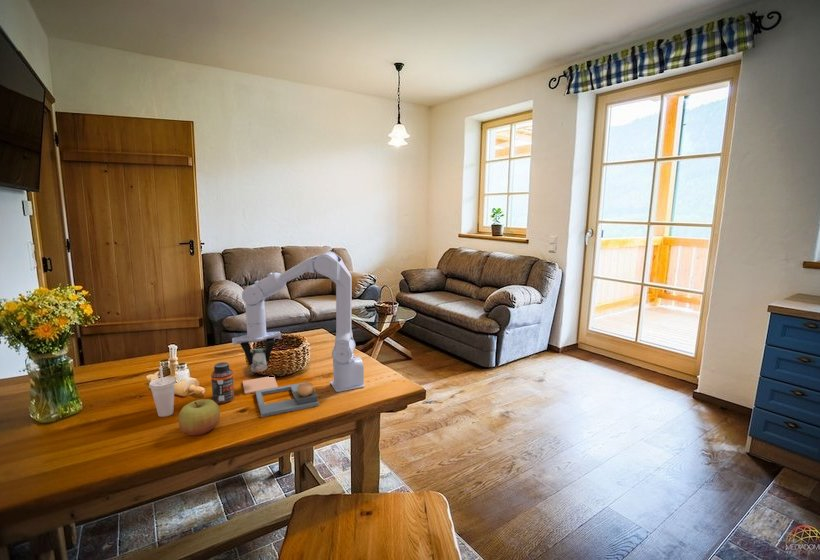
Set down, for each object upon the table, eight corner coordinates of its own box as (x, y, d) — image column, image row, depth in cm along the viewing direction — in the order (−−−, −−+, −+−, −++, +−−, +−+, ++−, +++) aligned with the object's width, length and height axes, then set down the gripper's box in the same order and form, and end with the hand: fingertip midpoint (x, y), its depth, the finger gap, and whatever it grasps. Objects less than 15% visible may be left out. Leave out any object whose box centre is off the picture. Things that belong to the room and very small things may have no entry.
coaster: (273, 377, 140) (273, 375, 139) (278, 388, 131) (278, 387, 131) (242, 382, 135) (242, 380, 135) (245, 394, 126) (244, 392, 126)
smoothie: (151, 421, 110) (145, 372, 108) (153, 411, 116) (148, 364, 114) (178, 416, 113) (173, 368, 111) (179, 406, 119) (174, 360, 116)
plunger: (311, 392, 124) (310, 381, 124) (314, 398, 121) (314, 387, 120) (296, 395, 122) (296, 384, 122) (299, 401, 119) (299, 390, 118)
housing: (307, 384, 134) (306, 377, 133) (318, 405, 120) (318, 397, 119) (255, 394, 127) (255, 386, 126) (261, 417, 113) (261, 408, 112)
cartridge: (269, 365, 134) (268, 346, 133) (264, 371, 129) (263, 352, 128) (254, 365, 134) (253, 346, 133) (249, 371, 129) (247, 352, 128)
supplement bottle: (226, 405, 119) (223, 369, 117) (208, 403, 121) (205, 367, 119) (238, 396, 125) (236, 361, 123) (221, 394, 126) (218, 360, 124)
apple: (179, 426, 108) (176, 398, 107) (219, 417, 113) (217, 390, 111) (179, 444, 100) (176, 414, 98) (223, 434, 104) (220, 405, 103)
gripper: (233, 328, 122) (236, 371, 125) (282, 321, 129) (284, 362, 132) (230, 322, 128) (233, 363, 131) (277, 316, 135) (279, 355, 138)
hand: (258, 362), depth 132 cm, fingers closed on cartridge, 5 cm apart
